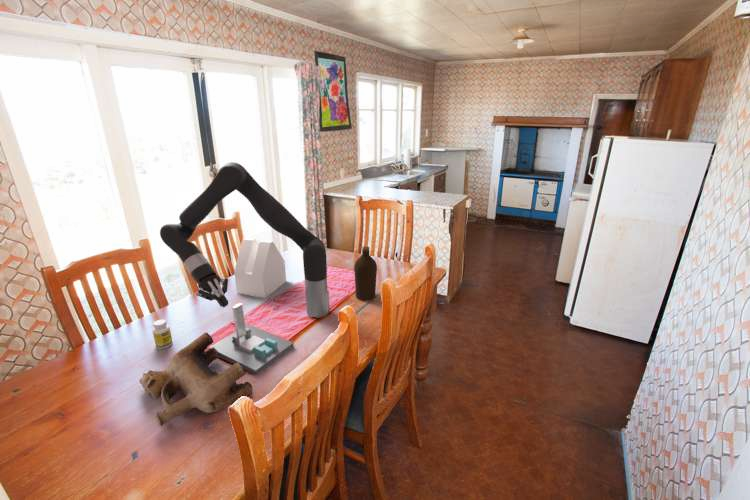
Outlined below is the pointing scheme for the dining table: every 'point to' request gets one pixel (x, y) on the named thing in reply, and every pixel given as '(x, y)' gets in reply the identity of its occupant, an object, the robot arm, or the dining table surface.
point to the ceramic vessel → (195, 381)
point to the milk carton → (259, 268)
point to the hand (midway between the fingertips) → (225, 305)
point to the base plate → (253, 349)
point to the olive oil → (365, 276)
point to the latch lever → (239, 320)
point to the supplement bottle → (162, 334)
